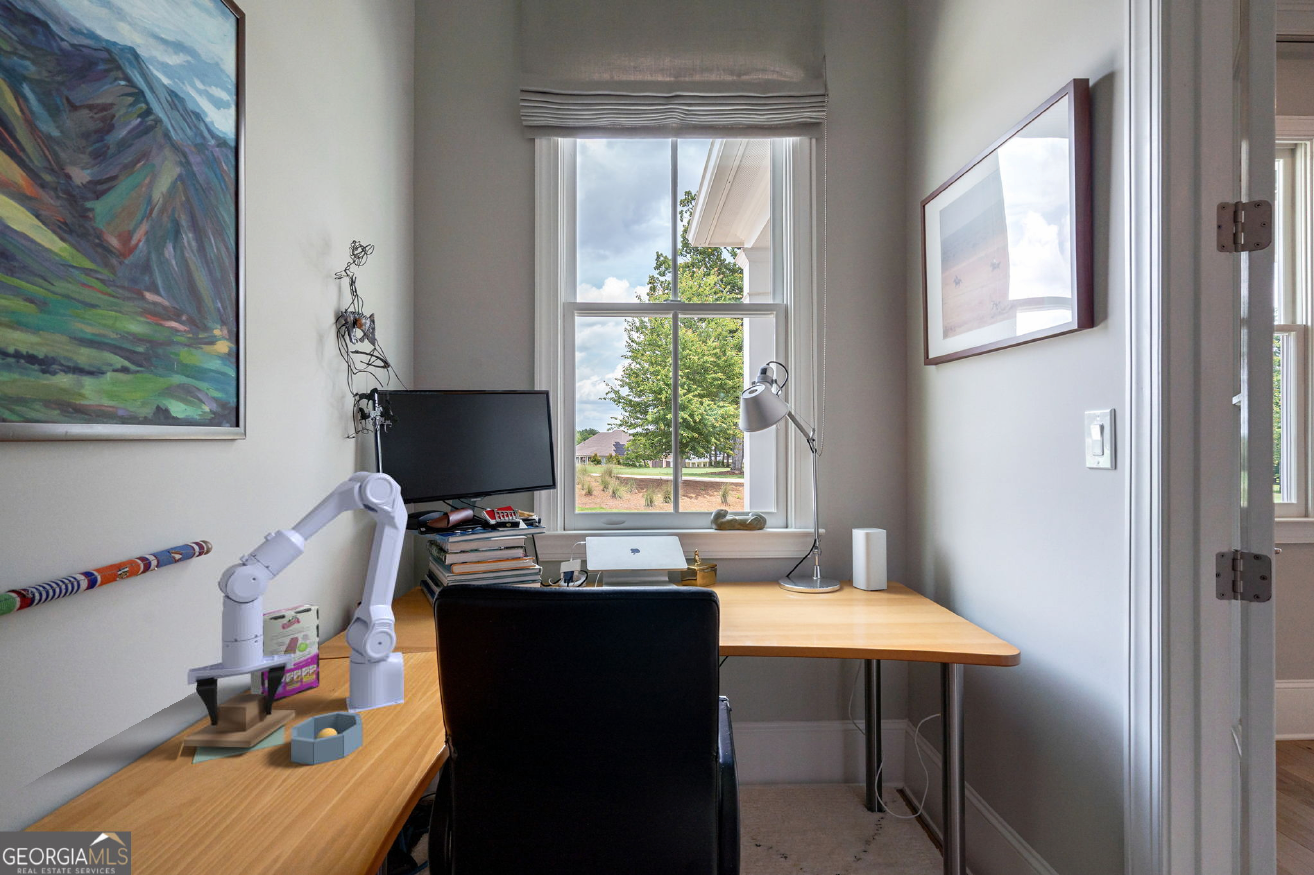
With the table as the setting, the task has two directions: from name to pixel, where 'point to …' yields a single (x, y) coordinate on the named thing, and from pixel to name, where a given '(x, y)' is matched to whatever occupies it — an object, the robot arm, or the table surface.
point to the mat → (218, 752)
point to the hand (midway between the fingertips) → (242, 718)
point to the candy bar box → (291, 649)
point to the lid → (240, 723)
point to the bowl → (326, 738)
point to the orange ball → (326, 733)
